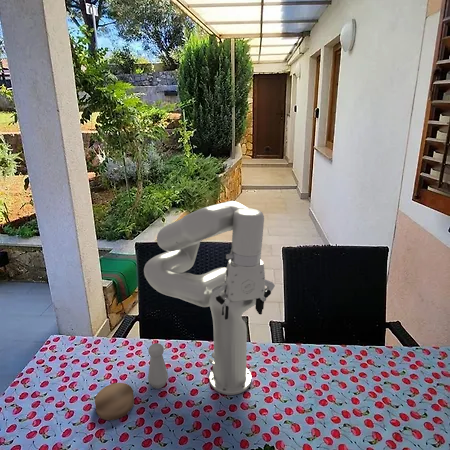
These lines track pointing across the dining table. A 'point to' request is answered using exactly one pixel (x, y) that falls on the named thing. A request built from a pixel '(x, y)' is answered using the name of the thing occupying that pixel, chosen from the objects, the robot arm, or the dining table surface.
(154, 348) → the salt shaker
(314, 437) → the dining table surface
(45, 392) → the dining table surface
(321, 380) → the dining table surface
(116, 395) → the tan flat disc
